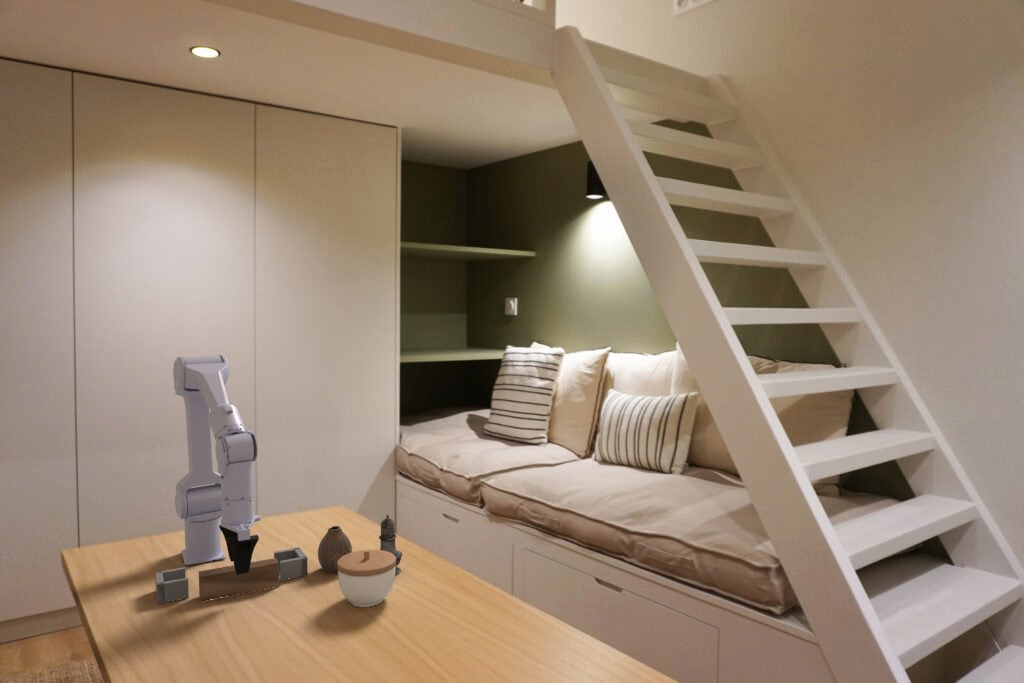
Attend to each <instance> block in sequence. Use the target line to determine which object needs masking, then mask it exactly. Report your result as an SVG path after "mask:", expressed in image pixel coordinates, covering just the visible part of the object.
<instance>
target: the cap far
mask: <svg viewBox="0 0 1024 683" xmlns="http://www.w3.org/2000/svg"><path fill="white" fill-rule="evenodd" d="M273 558H276V559H277V561H278V562H279V569H280V570H279V580H280V581H284V579H286V580H289V579H288V578H291V579H294V578H293V577H296V578H301V577H306V576H308V574H309V573H308V570H309V569H308V556H307V555H306V554H305V553H304V551H303V550H302V549H301V548H300V546H299V547H294V548H288V549H282V550H274V551H273ZM300 576H301V577H300Z"/></svg>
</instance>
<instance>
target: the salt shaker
mask: <svg viewBox="0 0 1024 683" xmlns="http://www.w3.org/2000/svg"><path fill="white" fill-rule="evenodd" d="M385 517H386V518H384V519H383V520H381V522H380V535H379V536H378V539H379V540H380V549H379V550H383V551H387V552H390V553H392V554H394V555H395V557H396V565H395V566H396V570H395V575H396V576H399V575H400V574H401V573H402V569H401V568H400V567H398V566H399V564H400V563H401V561H402V557H403V552H402V551H399V550H397V548H396V538H397V537H398V536H397V534H396V532H395V531H396V530H395V529H396V528H395V527H396V526H395V524H396V523H395V521H394V519H392V518H389V517H390V516H389V514H386V516H385ZM400 572H401V573H400ZM399 573H400V574H399Z"/></svg>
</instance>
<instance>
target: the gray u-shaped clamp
mask: <svg viewBox="0 0 1024 683" xmlns="http://www.w3.org/2000/svg"><path fill="white" fill-rule="evenodd" d="M154 577H155V578H154V581H155V596H156V602H157V605H160V604H159V603H161V604H165V603H164V602H167V603H169V602H168V601H172V600H177V601H180V600H179V599H182V600H184V599H183V598H187V599H189V598H190V597H189V596H190V595H189V594H190V593H189V578H188V577H186V567H185V566H184V567H183V566H182V567H178V568H177V567H176V568H171V569H166V570H160V571H155V572H154ZM172 602H173V601H172Z"/></svg>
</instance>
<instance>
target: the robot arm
mask: <svg viewBox="0 0 1024 683" xmlns="http://www.w3.org/2000/svg"><path fill="white" fill-rule="evenodd" d="M172 373H173V387H174V392H175V395H177V396H180V397H183V401H184V407H185V408H184V409H185V421H186V423H185V424H186V436H187V437H186V438H187V454H188V455H187V456H188V470H189V471H188V473H186V474H185V475H184V476H183V477H182V478H181V479H179V480H178V481H177V482H176V485H175V498H174V505H175V506H174V507H175V512H176V515H177V516H178V518H180V519H181V520H184V544H185V545H184V549H181V555H182V558H183V563H184V566H191V565H192V566H193V565H195V564H196V565H197V564H203V563H208V562H214V561H213V560H215V561H221V560H224V559H226V553H225V552H224V549H223V548H222V535H223V537H224V540H225V544H226V549H227V553H228V557H229V560H230V562H231V563H232V562H233V565H234V567H235V571H236V573H237V575H239V574H245V573H248V572H249V569H250V564H251V562H252V558H253V553H254V550H255V549H256V548H255V547H256V546H257V544H258V542H259V539H260V536H259V535H258V534H252V535H251V529H252V528H253V526H254V525H255V523H256V522H260V521H261V518H262V517H261V516H260V515H259V514H255V506H254V504H255V500H254V463H253V462H255V461H256V460H257V458H258V452H259V451H258V443H257V442H258V441H257V439H256V434H254V432H253V431H252V430H250V428H246V426H245V424H244V421H243V419H242V416H241V414H240V412H239V409H238V408H237V407H236V406H235V405H233V404H230V402H229V401H230V400H229V397H228V394H227V390H226V385H227V381H228V378H229V375H230V366H229V361H228V359H227V357H226V356H225V355H224V354H218V355H207V356H206V355H201V356H184V357H183V356H178V357H176V358H175V360H174V362H173V368H172ZM211 431H212V433H213V437H214V439H215V448H214V451H215V457H216V462H217V471H218V472H217V471H214V465H213V464H214V463H213V462H214V460H213V450H212V448H213V447H212V433H211ZM220 559H221V560H220Z"/></svg>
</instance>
